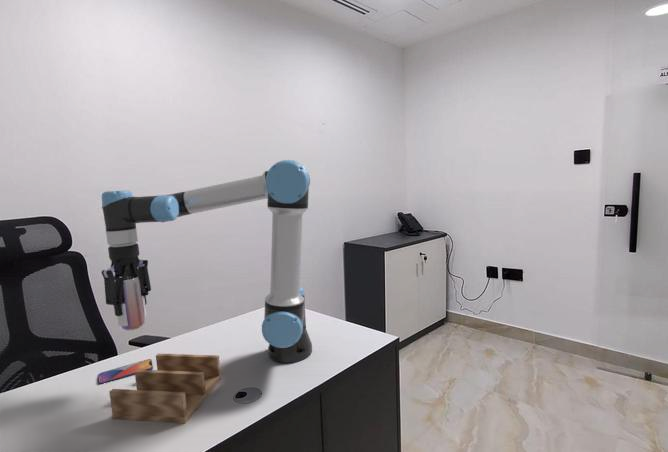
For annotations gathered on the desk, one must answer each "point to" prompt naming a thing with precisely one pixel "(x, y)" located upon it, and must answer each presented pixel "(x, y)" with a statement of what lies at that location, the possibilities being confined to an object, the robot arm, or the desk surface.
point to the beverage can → (133, 303)
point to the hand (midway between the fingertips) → (133, 320)
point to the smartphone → (124, 371)
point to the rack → (168, 389)
